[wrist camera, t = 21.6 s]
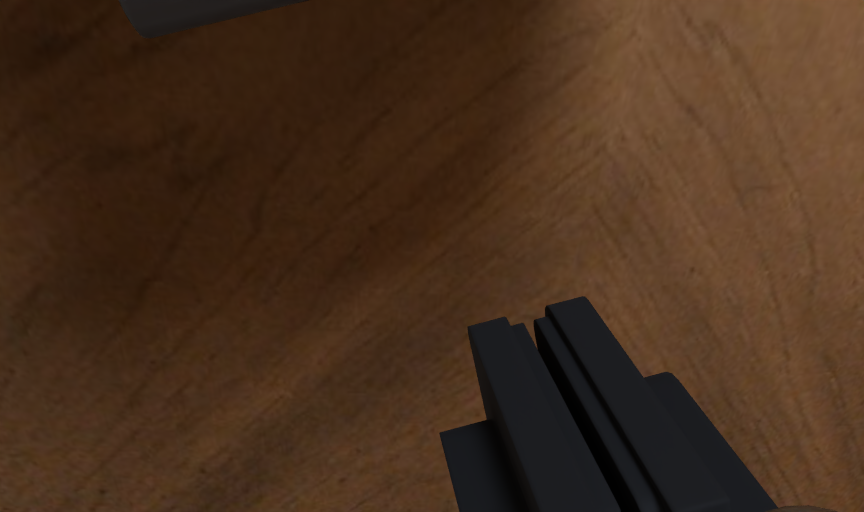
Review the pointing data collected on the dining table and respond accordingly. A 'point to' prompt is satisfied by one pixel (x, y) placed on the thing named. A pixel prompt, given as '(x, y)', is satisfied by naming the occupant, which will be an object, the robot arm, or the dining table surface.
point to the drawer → (190, 13)
